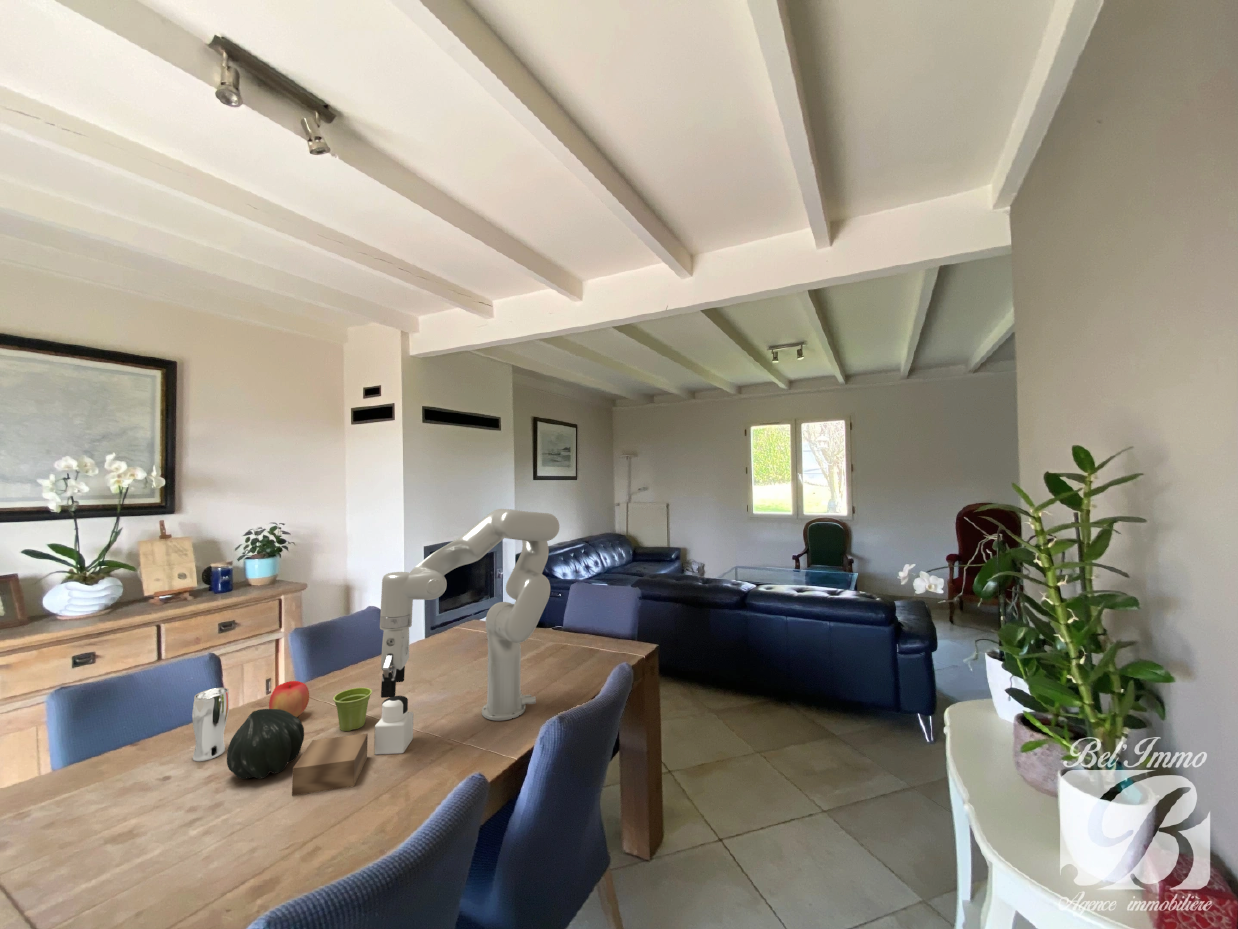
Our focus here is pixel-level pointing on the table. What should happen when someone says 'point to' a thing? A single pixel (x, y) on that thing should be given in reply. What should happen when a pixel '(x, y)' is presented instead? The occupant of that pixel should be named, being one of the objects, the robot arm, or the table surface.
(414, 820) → the table surface
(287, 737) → the squash
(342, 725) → the plant pot
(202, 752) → the silver metal vase
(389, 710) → the medicine bottle
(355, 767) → the walnut block
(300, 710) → the apple
